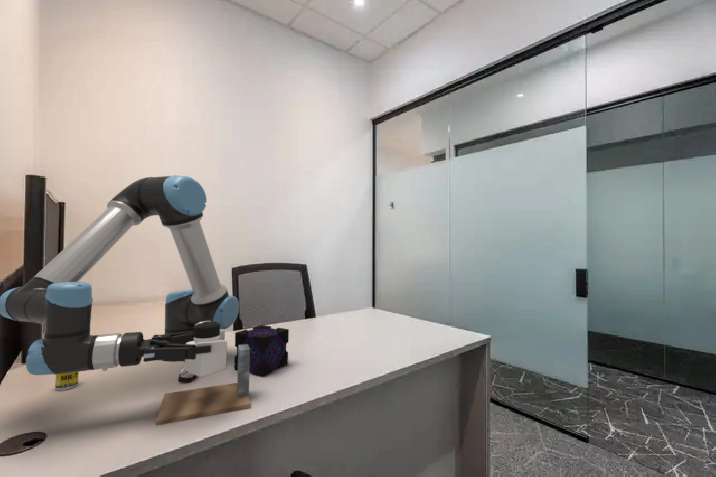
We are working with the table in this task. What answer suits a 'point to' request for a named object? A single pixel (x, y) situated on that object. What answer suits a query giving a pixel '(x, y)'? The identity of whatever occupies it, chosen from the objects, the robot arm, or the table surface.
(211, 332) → the medicine bottle
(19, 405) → the table surface
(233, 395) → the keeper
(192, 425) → the table surface
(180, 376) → the watch
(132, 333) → the robot arm
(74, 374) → the supplement bottle
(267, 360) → the energy cube
